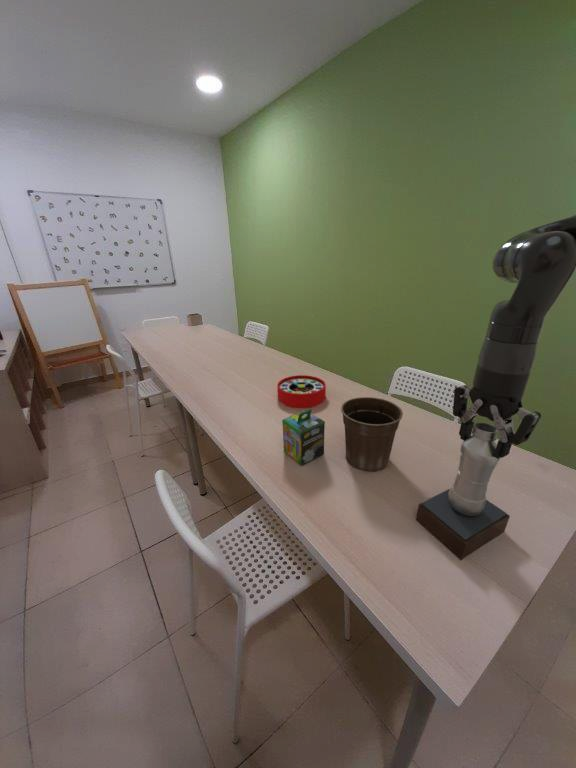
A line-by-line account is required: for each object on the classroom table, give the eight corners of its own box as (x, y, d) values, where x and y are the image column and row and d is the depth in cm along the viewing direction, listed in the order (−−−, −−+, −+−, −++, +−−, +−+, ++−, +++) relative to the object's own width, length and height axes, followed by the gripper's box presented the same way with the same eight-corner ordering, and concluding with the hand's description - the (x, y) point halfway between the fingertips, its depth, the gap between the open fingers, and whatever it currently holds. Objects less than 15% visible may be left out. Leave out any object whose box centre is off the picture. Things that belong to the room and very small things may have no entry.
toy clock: (301, 399, 111) (267, 384, 124) (302, 413, 113) (268, 397, 127) (335, 383, 123) (301, 371, 137) (335, 396, 126) (301, 383, 139)
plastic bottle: (455, 492, 68) (474, 414, 60) (488, 510, 63) (513, 428, 55) (440, 505, 64) (458, 425, 56) (473, 526, 59) (498, 441, 51)
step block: (457, 497, 73) (461, 481, 71) (504, 531, 64) (510, 514, 62) (415, 519, 67) (418, 502, 65) (460, 560, 58) (466, 542, 56)
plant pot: (341, 439, 97) (343, 394, 90) (394, 445, 93) (400, 398, 87) (335, 471, 83) (338, 421, 76) (397, 480, 79) (405, 428, 72)
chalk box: (305, 440, 97) (305, 399, 91) (325, 454, 90) (326, 410, 84) (282, 451, 92) (280, 408, 86) (301, 466, 85) (300, 421, 79)
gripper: (567, 374, 46) (534, 462, 53) (476, 350, 58) (459, 425, 65) (539, 383, 43) (508, 476, 50) (450, 356, 55) (435, 434, 62)
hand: (481, 447), depth 57 cm, fingers closed on plastic bottle, 6 cm apart
